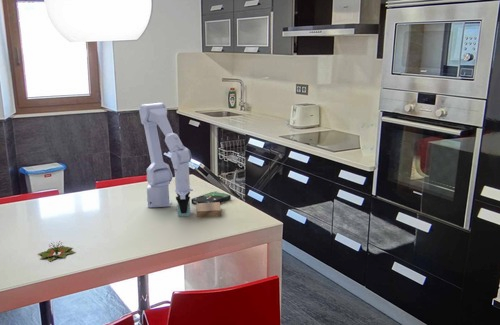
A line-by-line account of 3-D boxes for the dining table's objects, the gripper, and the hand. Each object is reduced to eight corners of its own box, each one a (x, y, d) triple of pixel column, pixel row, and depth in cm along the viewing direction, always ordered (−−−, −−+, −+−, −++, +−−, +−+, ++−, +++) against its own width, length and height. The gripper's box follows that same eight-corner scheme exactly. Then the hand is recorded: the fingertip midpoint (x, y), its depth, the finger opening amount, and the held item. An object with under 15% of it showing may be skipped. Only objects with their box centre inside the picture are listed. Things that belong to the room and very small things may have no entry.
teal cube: (177, 216, 185) (177, 204, 184) (178, 212, 190) (177, 200, 189) (190, 215, 186) (189, 204, 185) (190, 211, 191) (189, 200, 189)
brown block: (196, 218, 184) (196, 211, 183) (196, 210, 193) (195, 203, 193) (221, 217, 185) (221, 210, 184) (219, 208, 195) (219, 202, 194)
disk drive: (207, 209, 194) (231, 200, 205) (207, 203, 193) (231, 194, 204) (191, 204, 201) (215, 196, 212) (190, 198, 200) (214, 190, 211)
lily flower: (65, 244, 161) (63, 232, 160) (82, 253, 153) (81, 241, 152) (31, 256, 152) (29, 243, 151) (47, 266, 145) (45, 253, 144)
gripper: (192, 183, 178) (194, 216, 181) (192, 173, 192) (193, 204, 195) (174, 184, 177) (176, 217, 180) (175, 174, 191) (176, 205, 194)
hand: (184, 210), depth 187 cm, fingers closed on teal cube, 5 cm apart
